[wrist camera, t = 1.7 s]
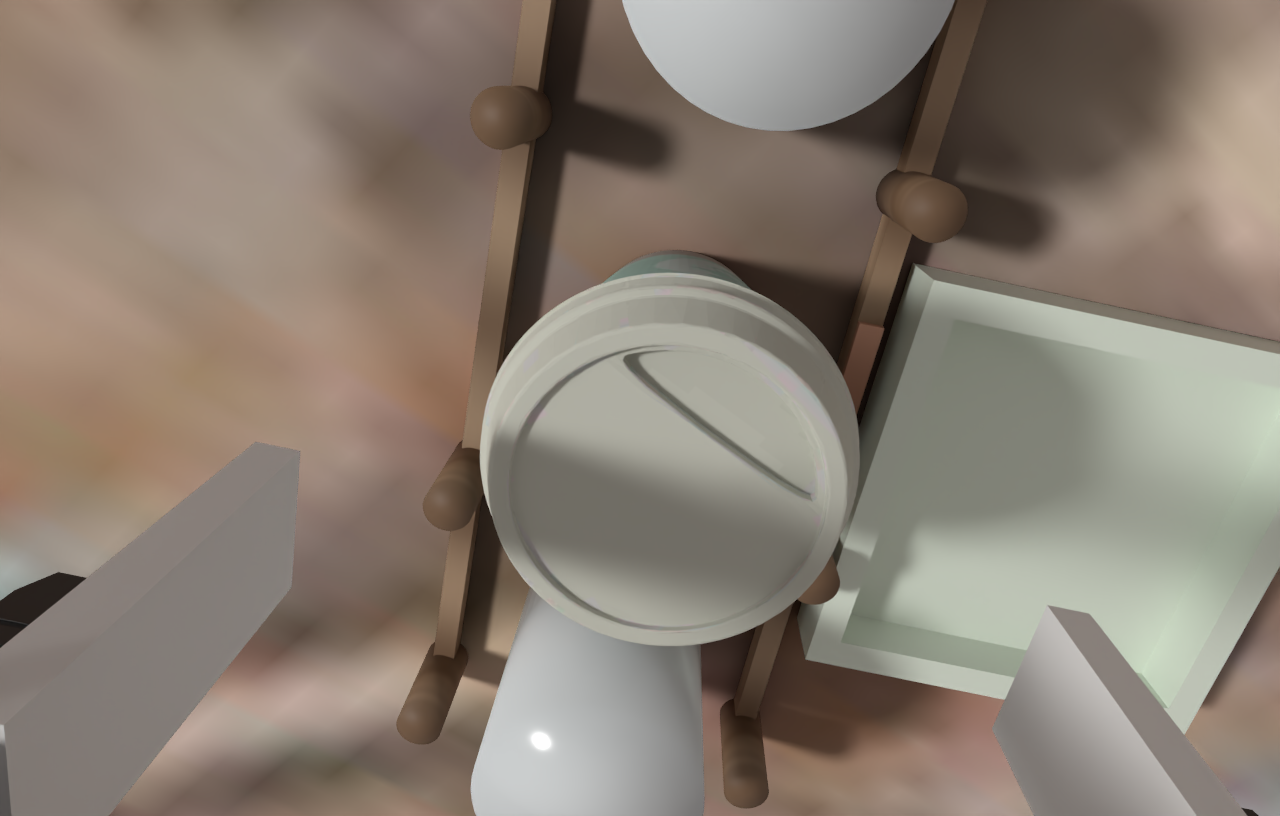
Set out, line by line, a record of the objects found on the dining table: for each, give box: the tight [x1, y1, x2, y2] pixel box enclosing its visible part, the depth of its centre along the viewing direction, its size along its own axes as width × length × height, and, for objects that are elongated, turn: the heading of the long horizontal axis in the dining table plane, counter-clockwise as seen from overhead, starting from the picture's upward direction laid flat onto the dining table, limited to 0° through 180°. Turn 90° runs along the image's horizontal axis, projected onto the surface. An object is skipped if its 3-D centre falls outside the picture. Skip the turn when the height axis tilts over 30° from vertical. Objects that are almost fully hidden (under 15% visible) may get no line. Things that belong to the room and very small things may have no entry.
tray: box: [797, 263, 1280, 734], centre depth 29 cm, size 14×14×2 cm
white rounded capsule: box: [471, 587, 704, 816], centre depth 28 cm, size 6×6×10 cm
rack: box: [397, 0, 987, 808], centre depth 27 cm, size 32×14×4 cm, turn 168°
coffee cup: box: [480, 250, 860, 646], centre depth 23 cm, size 8×8×12 cm
